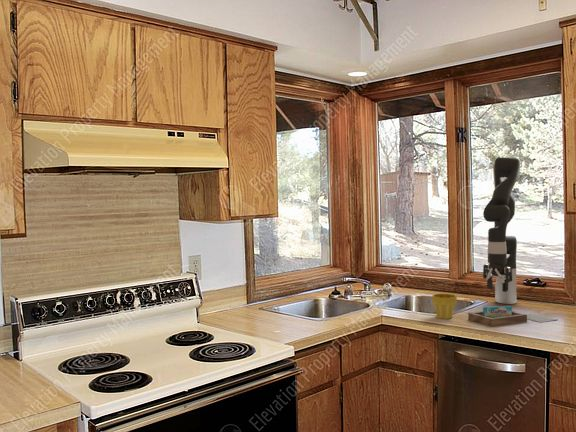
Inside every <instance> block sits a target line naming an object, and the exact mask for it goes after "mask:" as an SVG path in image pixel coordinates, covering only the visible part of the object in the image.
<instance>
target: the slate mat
mask: <svg viewBox="0 0 576 432" xmlns="http://www.w3.org/2000/svg"><path fill="white" fill-rule="evenodd" d="M526 314H527V321H528V320H529V321H533V322H538V323H548V322H552V321H559V319H558V318H557V319H556V318H553V317H549V316H545V315H542V314H541V315H540V314H536V313H533V312H532V313H526Z"/></svg>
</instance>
